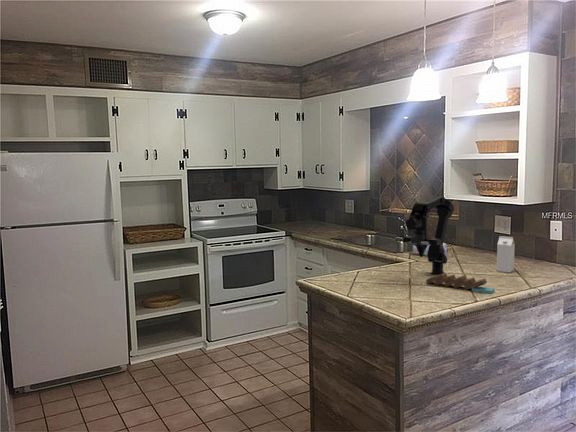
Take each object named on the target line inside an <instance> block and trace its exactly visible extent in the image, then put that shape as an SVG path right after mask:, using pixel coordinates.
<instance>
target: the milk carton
mask: <svg viewBox="0 0 576 432" xmlns="http://www.w3.org/2000/svg"><path fill="white" fill-rule="evenodd" d="M515 245H516V244H515V240H514V236H505V235H499V237H498V241H497V245H496V246H497V247H496V248H497V249H496V272H503V273H512V272H513V271H514V269H515V250H516V249H515Z"/></svg>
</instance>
